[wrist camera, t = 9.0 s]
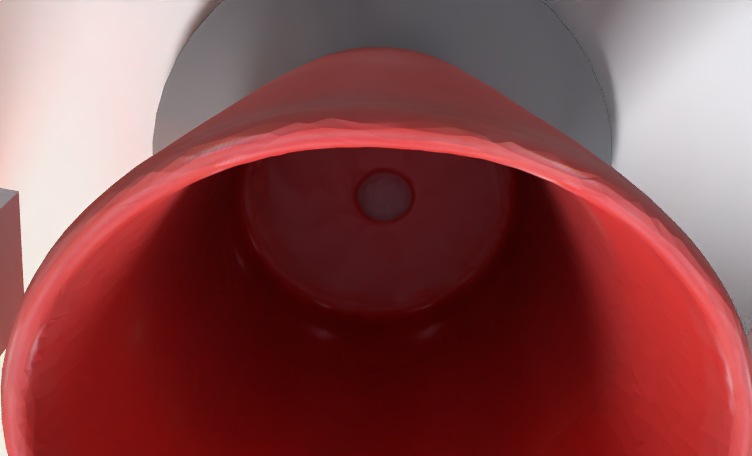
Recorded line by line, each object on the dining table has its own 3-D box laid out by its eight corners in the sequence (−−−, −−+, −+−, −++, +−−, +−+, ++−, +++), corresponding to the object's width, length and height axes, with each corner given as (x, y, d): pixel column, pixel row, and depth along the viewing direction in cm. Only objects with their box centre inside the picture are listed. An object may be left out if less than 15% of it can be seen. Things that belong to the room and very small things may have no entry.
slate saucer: (174, -115, 15) (167, -114, 15) (679, 0, 16) (689, 5, 16) (148, 314, 21) (141, 326, 20) (524, 378, 22) (528, 391, 22)
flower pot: (575, -70, 15) (825, 33, 7) (588, 325, 20) (737, 666, 12) (118, 14, 16) (-174, 199, 8) (241, 372, 21) (149, 719, 13)
